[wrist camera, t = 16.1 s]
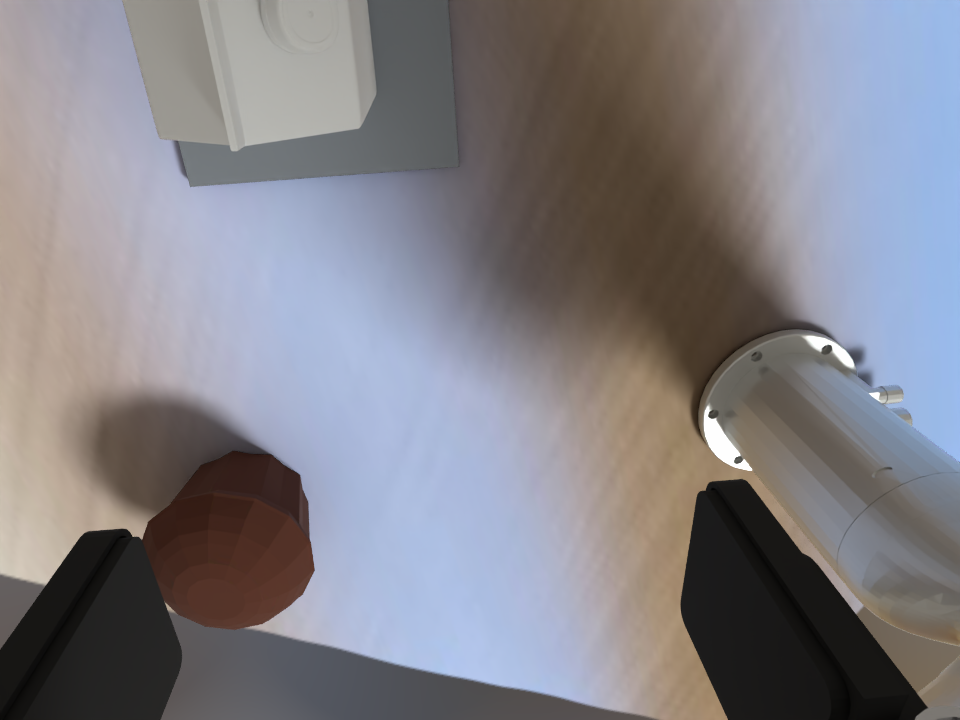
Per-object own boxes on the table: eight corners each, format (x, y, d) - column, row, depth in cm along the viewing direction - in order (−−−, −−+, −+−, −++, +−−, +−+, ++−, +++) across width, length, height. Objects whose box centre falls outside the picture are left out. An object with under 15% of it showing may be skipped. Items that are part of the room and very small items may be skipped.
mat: (436, -165, 31) (437, -169, 30) (458, 164, 38) (459, 166, 38) (105, -153, 30) (98, -158, 29) (194, 184, 37) (190, 186, 37)
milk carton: (250, 101, 35) (110, 158, 18) (221, -49, 32) (16, -150, 15) (377, 95, 35) (355, 144, 19) (361, -54, 32) (318, -154, 15)
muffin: (140, 471, 46) (77, 573, 37) (270, 412, 45) (238, 503, 36) (232, 571, 52) (197, 681, 43) (350, 521, 51) (340, 623, 42)
